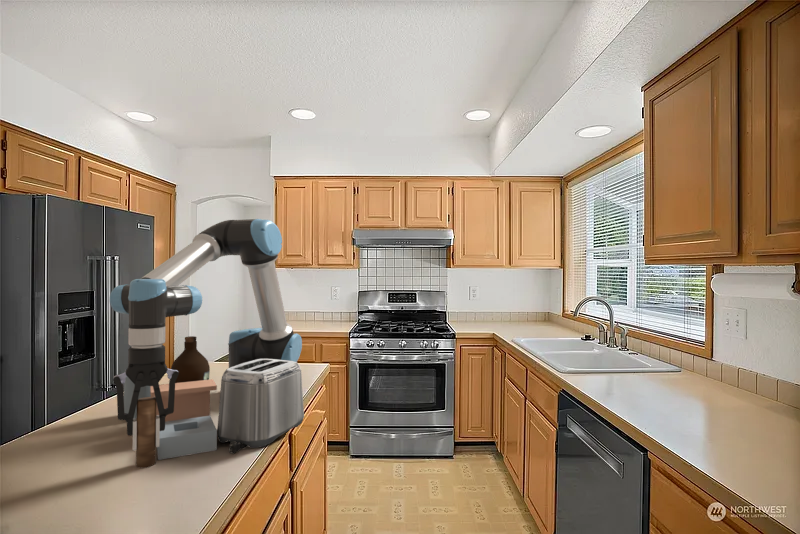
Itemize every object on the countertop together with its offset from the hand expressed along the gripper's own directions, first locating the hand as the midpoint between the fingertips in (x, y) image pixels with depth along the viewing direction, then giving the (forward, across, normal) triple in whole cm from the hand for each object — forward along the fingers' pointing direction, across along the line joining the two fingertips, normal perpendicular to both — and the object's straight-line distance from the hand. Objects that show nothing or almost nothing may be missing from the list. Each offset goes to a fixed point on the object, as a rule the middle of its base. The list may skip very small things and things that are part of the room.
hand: (146, 446), depth 108 cm
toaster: (+4, -28, -8) cm, 29 cm away
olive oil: (+4, -12, -28) cm, 31 cm away
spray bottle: (+4, +1, -41) cm, 41 cm away
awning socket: (+4, -9, -12) cm, 15 cm away
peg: (+4, 0, 0) cm, 4 cm away
